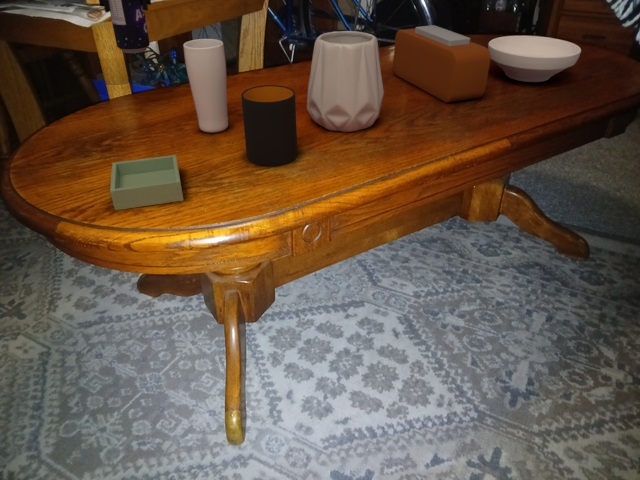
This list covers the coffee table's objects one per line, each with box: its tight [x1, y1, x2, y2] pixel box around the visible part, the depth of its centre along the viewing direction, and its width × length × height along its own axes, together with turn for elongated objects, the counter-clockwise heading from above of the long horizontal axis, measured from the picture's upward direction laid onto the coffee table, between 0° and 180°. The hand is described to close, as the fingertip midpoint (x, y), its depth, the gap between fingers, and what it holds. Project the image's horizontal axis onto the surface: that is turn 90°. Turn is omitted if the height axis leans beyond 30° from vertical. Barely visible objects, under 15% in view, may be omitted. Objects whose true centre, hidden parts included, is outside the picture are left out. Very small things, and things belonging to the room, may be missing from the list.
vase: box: [306, 30, 385, 133], centre depth 92 cm, size 14×14×15 cm
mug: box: [240, 84, 298, 167], centre depth 83 cm, size 8×12×10 cm
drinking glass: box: [182, 38, 229, 134], centre depth 90 cm, size 7×7×15 cm
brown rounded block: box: [392, 24, 491, 104], centre depth 111 cm, size 24×8×11 cm, turn 22°
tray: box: [109, 154, 184, 211], centre depth 74 cm, size 9×9×3 cm
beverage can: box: [108, 0, 151, 54], centre depth 90 cm, size 6×6×12 cm
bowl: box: [487, 35, 582, 83], centre depth 116 cm, size 20×20×7 cm
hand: (126, 8), depth 89 cm, fingers closed on beverage can, 5 cm apart
